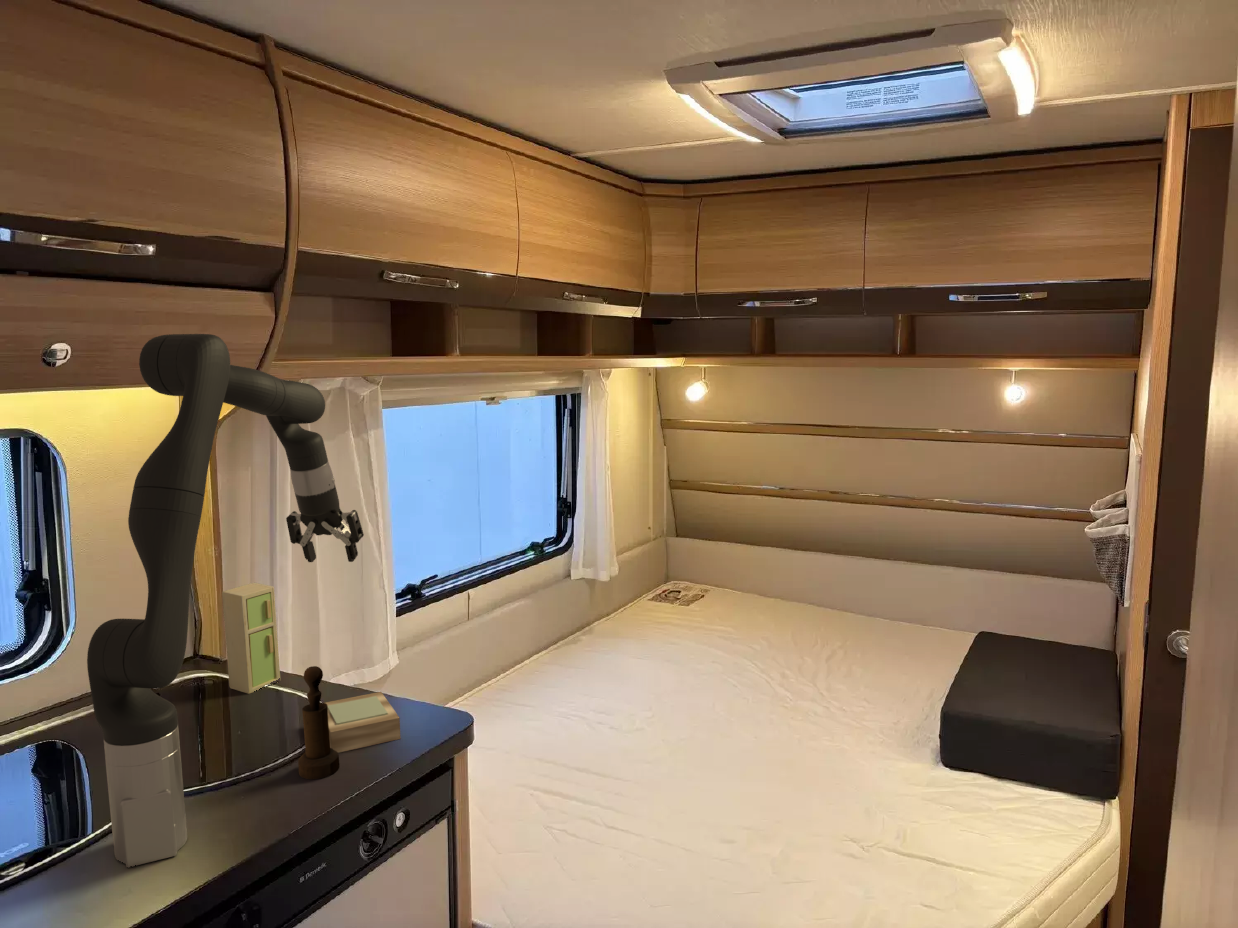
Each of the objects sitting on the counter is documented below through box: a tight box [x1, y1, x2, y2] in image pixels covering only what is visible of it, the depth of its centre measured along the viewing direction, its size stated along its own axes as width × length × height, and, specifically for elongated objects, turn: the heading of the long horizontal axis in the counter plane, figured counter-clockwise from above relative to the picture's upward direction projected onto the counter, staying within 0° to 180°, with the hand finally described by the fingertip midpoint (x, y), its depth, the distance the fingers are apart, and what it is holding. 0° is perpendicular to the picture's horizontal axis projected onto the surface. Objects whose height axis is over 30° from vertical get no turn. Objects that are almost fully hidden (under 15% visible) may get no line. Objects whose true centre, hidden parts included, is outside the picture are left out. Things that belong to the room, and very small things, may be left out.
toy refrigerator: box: [221, 582, 281, 695], centre depth 184 cm, size 8×7×21 cm
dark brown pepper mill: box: [297, 665, 340, 780], centre depth 146 cm, size 7×6×18 cm
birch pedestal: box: [324, 691, 402, 754], centre depth 162 cm, size 14×12×4 cm
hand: (332, 560), depth 174 cm, fingers open, 8 cm apart
